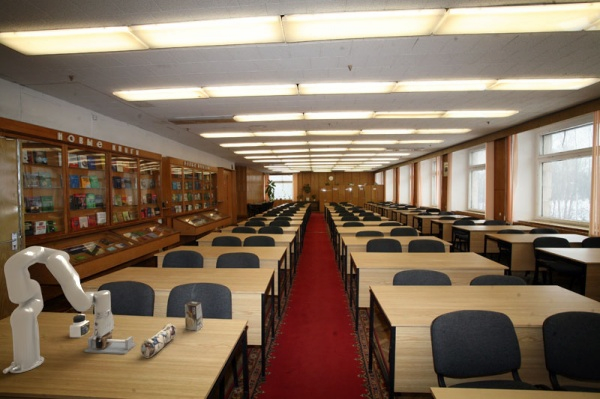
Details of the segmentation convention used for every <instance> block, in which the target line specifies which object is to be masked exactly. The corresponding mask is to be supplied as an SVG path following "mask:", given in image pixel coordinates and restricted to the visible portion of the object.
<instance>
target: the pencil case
mask: <svg viewBox="0 0 600 399" xmlns="http://www.w3.org/2000/svg"><path fill="white" fill-rule="evenodd" d="M177 332H178V330H177V327H176V325H174V324H172V322H171V323H168V324H166V325H164V326H163V328H161V330H159V331H158V332H157V333H156V334H154V335H153V336H152V337H149V338H146V339H143V342H142V343H141V346H140V353H141V355H142V357H143V358H146V359H149V358H150V359H151V358H152V357H154V355H156V354H157V353H158V352H159V351H161V350H162V349H163V348H164V347H165V346H166V345H167V344H168V343H170V342H171V340H172V339H174V338H175V337H176V335H177Z"/></svg>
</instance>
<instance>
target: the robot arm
mask: <svg viewBox="0 0 600 399" xmlns="http://www.w3.org/2000/svg"><path fill="white" fill-rule="evenodd" d="M36 263H39V264H45V266H46V268H47V269H48V270H49V272H50V273H51V274H52V275H53V277H54V278H55V279H56V280H57V282H58V283H59V285H60V286H61V289H62V291H63V294H64V296H65V298H66V299H67V302H69V303H70V305H71V306H72V307H73V308H74V310H76V311H77V312H86V311H88V310H89V309H91V307H92V306H93V305H94V319H93V320H94V321H93V334H92V335H93V336H92V335H91V336H92V338H91V339H93V340H94V341H96V348H102V341H101V339H102V336H104V335H105V334H107V333H112V334H113V330H114V328H115V325H116V324H115V322H114V315H113V313H112V307H111V306H112V304H111V303H112V302H111V299H112V298H111V291H110V290H107V289H104V290H99V291H84V290H83V288H82V286H81V279H80V274H79V273H78V272H77V270H76V269H75V268H74V266H73V265H72V264H71V263H70V255H69V253H68V252H66V251H64V250H59V249H54V248H50V247H45V246H39V245H38V246H37V245H33V246H29V247H27V248H24V249H22V250H20V251H19V252H17V253H14V254H13V255H11V256H10V257H9V258H8V259H7V261H6V262H5V263H4V268H3V271H4V272H3V273H4V277H5V281H6V288H7V293H8V298H9V301H11V303H13V304H18V306H17V307H16V308H15V309H14V310H13V312H11V315H10V317H9V318H10V319H9V323H10V326H11V331H12V333H11V334H12V347H13V348H12V349H13V361H11V364H10V365H9V366H8V367H5V369H3V370H2V373H3V374H7V373H8V372H10V373H11V374H19V373H25V372H28V371H30V370H33V369H35V368H37V367H39V366H40V365H42V364H43V363H44V362H45V358H44V356H41V352H40V332H39V323H38V315H39V314H40V313H41V312H42V310H43V308H44V299H43V295H42V288H41V286H40V283H39V282H38V281H37V280H35V279H31V274H30V272H29V270H28V268H29V267H30V266H32V265H34V264H36ZM98 336H99V339H98Z"/></svg>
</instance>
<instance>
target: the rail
mask: <svg viewBox="0 0 600 399" xmlns="http://www.w3.org/2000/svg"><path fill="white" fill-rule="evenodd" d="M92 336H93V334H92V335H91V336H89V337H87V348H85V349H84V350H83V351H84V353H92V354H111V355H113V354H114V355H126V354H127V353H128V352H130V351H131V350H132V349H133V348H134V347H136V346H137V343H134V336H128V337H127V338H126V339H116V338H115V339H114V338H112V339H106V342H112V344H110V345H109V346H107V347H106V348H105V349H96V344H95V341H94V340H93V339H91V338H92Z"/></svg>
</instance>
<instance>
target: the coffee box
mask: <svg viewBox="0 0 600 399" xmlns="http://www.w3.org/2000/svg"><path fill="white" fill-rule="evenodd" d="M184 318H185V322H184V323H185V324H184V325H185V330H191V331H197V332H198V331H199V330H200V329H202V328H203V327H204V326H203V324H204V323H203V322H204V321H203V302H201V301H193V300H190V301H188V302H187V303H185V304H184Z"/></svg>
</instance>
